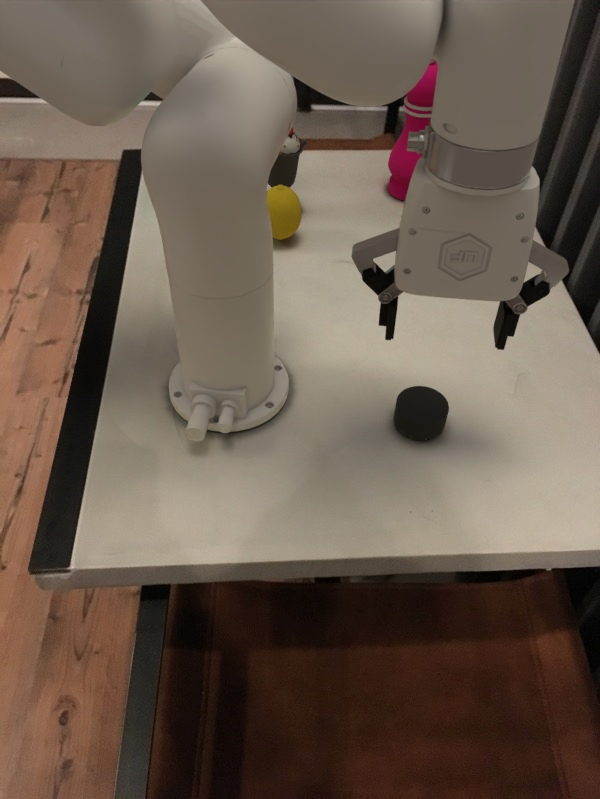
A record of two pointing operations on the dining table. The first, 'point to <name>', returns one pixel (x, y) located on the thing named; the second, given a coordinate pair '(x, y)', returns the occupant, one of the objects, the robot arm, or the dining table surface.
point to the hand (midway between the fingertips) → (443, 334)
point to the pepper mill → (416, 119)
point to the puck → (420, 412)
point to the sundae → (287, 161)
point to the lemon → (283, 211)
